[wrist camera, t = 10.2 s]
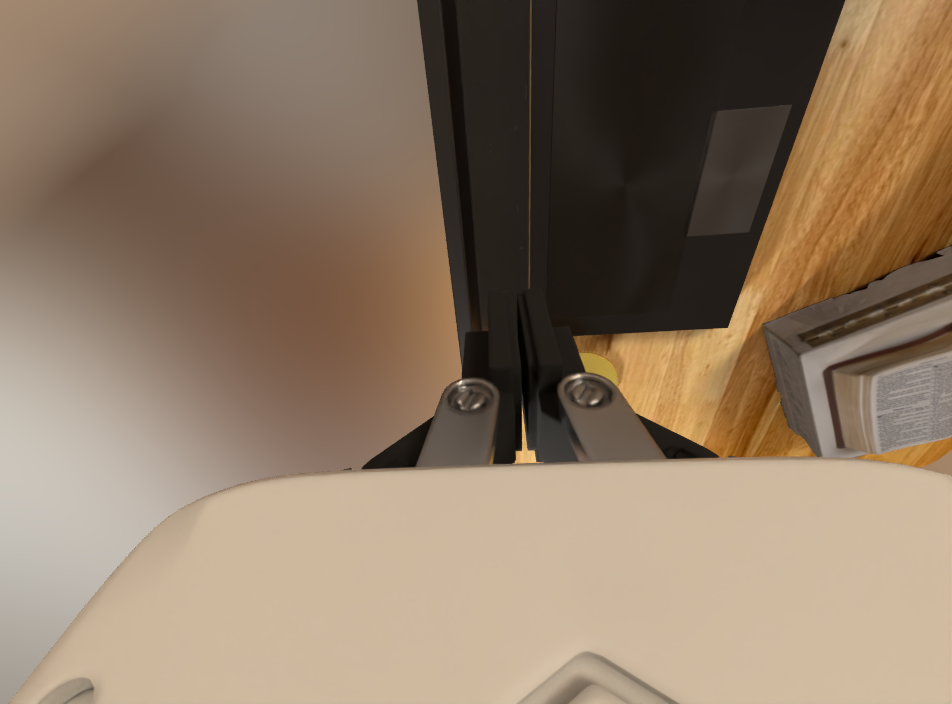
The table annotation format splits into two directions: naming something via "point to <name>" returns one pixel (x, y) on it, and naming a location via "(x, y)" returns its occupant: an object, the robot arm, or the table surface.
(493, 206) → the laptop screen
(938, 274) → the bible
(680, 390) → the table surface
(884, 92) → the table surface
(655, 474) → the robot arm
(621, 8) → the laptop
